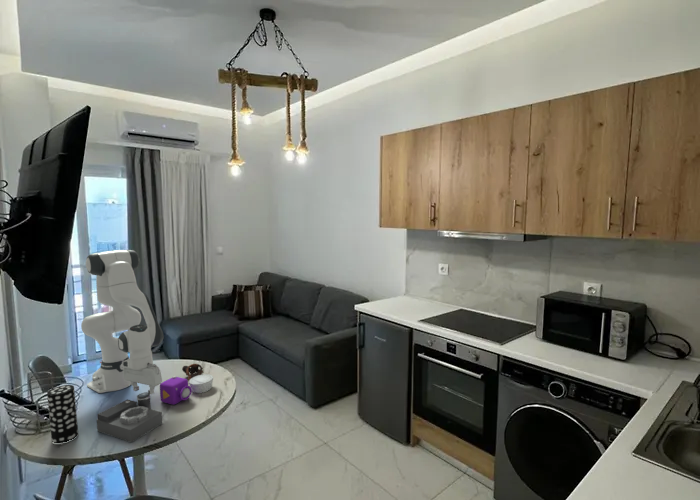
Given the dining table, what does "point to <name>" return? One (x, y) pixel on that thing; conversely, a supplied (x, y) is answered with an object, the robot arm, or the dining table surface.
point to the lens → (144, 400)
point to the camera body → (128, 420)
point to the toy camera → (174, 390)
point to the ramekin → (201, 383)
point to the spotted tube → (62, 413)
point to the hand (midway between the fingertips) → (143, 392)
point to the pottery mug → (192, 370)
